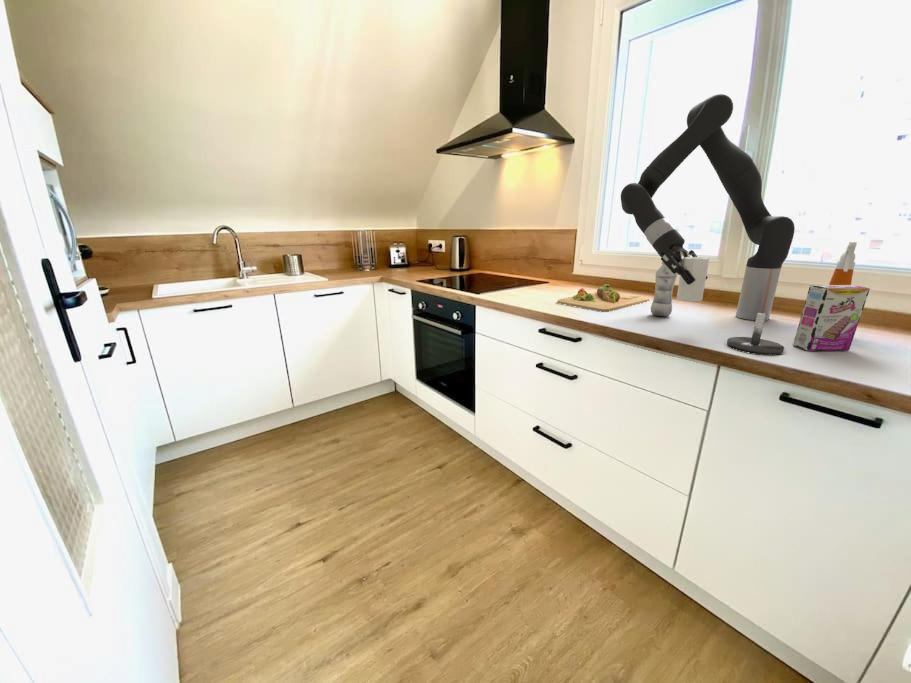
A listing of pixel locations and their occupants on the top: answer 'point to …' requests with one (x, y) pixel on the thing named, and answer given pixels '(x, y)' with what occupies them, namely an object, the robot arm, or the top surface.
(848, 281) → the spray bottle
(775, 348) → the roll holder
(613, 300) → the cutting board
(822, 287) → the candy bar box
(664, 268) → the plastic bottle
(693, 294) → the paper towel roll
